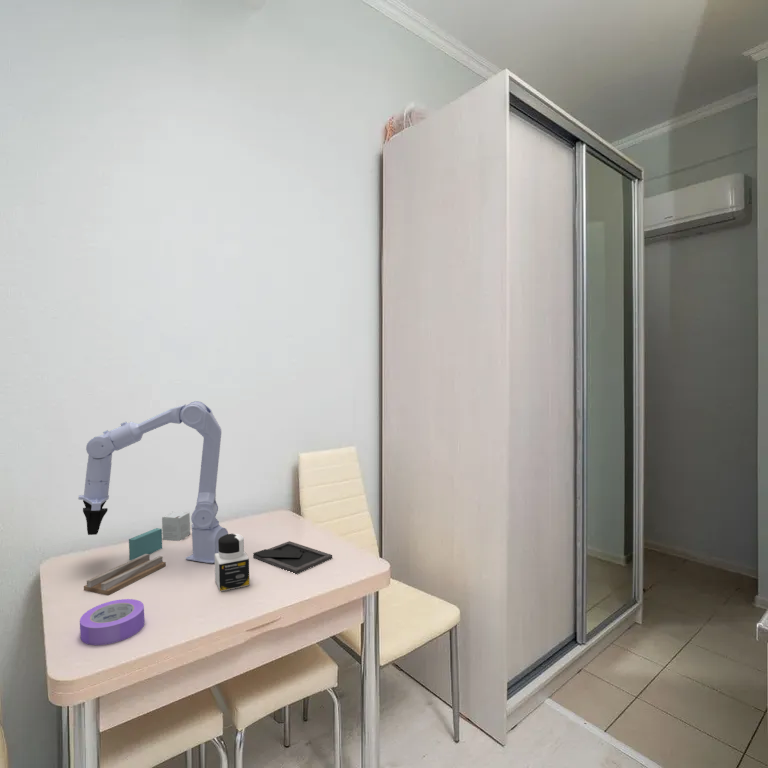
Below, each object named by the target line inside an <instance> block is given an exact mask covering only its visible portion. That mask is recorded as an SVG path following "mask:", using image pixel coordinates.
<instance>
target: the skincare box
mask: <svg viewBox="0 0 768 768" xmlns="http://www.w3.org/2000/svg"><path fill="white" fill-rule="evenodd" d="M190 517H191V516H190V512H189V511H188V512H185V511H171V512H169V513H168V514H166V515H164V516H162V518H161V526H162V528H161V529H162V541H177V542H179V541H182V540H183V539H185V538H186V537H188V536H189V535H191V525H190V524H191V521H190Z"/></svg>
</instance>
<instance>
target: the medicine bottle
mask: <svg viewBox="0 0 768 768" xmlns="http://www.w3.org/2000/svg"><path fill="white" fill-rule="evenodd" d="M218 547H219V553H216V554H215V563H214V580H215V584H216V585H217V589H218V590H219V592H220V591H222V592H226V591H230V589H231V590H235V588H236V589H240V587H241V588H244V587H249V586H250V558H249V556H248V554H247V553H246V552H245V537H244V536H243V535H242V534H239V533H228V534H227V535H224V536H222V537H220V539H219V540H218ZM225 590H226V591H225Z"/></svg>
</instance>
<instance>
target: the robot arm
mask: <svg viewBox="0 0 768 768" xmlns="http://www.w3.org/2000/svg"><path fill="white" fill-rule="evenodd" d="M170 423H171V424H178V425H179V424H182V423H183V424H184V425H186V426H188V427H190V428H192V429H194V430H195V431H196V432H197V433H198V434H200V435H201V437H203V443H202V452H201V453H202V454H201V460H200V461H201V462H200V463H201V464H200V473H199V483H198V493H197V497H196V505H195V508H194V510H193V512H192V513H191V514H192V515H191V516H190V517H191V522H192V525H191V536H192V537H191V539H192V540H191V541H192V543H191V544H192V545H191V546H192V554H191V555H187V556H186V557H185V560H187V561H188V560H189V561H195V562H200V563H205V564H215V554H216V553H219V547H218V540H219V539H220V537H222V536H224V535H227V534H229V532H228V530H227V528H225V527H224V526H223V527H222V526H221V525H220V521H219V520H218V519H217V517H216V516H217V514H218V511H219V506H218V503H217V501H216V499H217V498H216V497H217V481H218V473H219V472H218V471H219V461H220V450H221V438H222V428H221V426H220V424H219V422H218V421H217V418H216V417H215V415H214V413H213V411H212V409H211V408H210V407H208V406H207V404H206V403H204V402H202V401H196V400H195V401H191V402H189V403H188V404H186V403H185V404H182V405H178V406H174V407H172V408H169V409H167V410H165V411H163V412H161V413H159V414H156V415H154V416H153V417H150V418H149V419H146V420H143V421H141V422H140V423H137V422H134V421H130V422H127V421H124V422H122V423H120V426H118V427H116V428H114V429H111V430H108V429H107V430H105V431H103V432H102V433H103V434H99V435H97V436H94V437H93V438H91V439H90V440H89V441H87V443H86V446H85V447H86V449H85V450H86V453H87V454H88V458H87V463H86V471H85V483H84V492H83V494H81V495H78V498H77V499H78V500H81V501H82V503H83V504H84V507H82V513H83V516H84V517H85V521H86V531H87V535H88V536H92V535H93V536H94V535H95V536H96V535H98V533H99V530H100V529H101V528H100V526H101V525H102V521H103V519H104V516H105V515H106V514H107V512H108V510H109V509H108V508H107V507H106V508H105V507H104V505H105V504H106V502H107V501H108V500H109V497H110V495H109V491H110V490H109V489H110V482H111V481H110V480H111V473H112V463H113V462H112V459H113V453H114V452H115V451H119V450H122V449H124V448H125V449H126V448H127V447H129V446H131V445H133V444H136V443H139V442H140V441H142V438H143V435H144V434H146V433H148V432H149V433H150V432H151V431H153V430H157V429H158V428H161V427H163V426H165V425H168V424H170ZM103 507H104V508H103Z"/></svg>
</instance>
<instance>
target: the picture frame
mask: <svg viewBox="0 0 768 768" xmlns="http://www.w3.org/2000/svg"><path fill="white" fill-rule="evenodd" d="M252 554H253V555H252V558H253V559H254V560H258V561H259V562H261V563H265V564H267V565H270V566H273V567H276V568H278V569H280V568H281V570H283V569H284V570H283V571H286V570H287V571H286V572H288V571H290V572H289V573H291V572H293V573H295V574H294V575H296V574H297V573H299V572H301V573H303V572H305V571H307V570H306V569H308V568H310V567H312V568H314V567H316V566H315V565H317V564H319V563H321V564H323V563H325V562H324V561H326V562H327V560H328V561H330V560H331V558H332V559H333V555H332V554H331V553H327V552H324V551H320V550H319V549H315V548H311V547H308V546H305V545H302V544H299V543H297V542H293V541H290V540H288V541H286V542H283V543H281V544H278V545H275V546H273V547H270V548H267V549H262V550H258V551H255V552H253V553H252ZM329 559H330V560H329ZM322 562H323V563H322ZM319 565H320V564H319ZM313 566H314V567H313ZM317 566H318V565H317ZM310 569H311V568H310ZM304 570H305V571H304ZM308 570H309V569H308ZM302 571H303V572H302ZM293 573H292V574H293ZM299 574H300V573H299ZM297 575H298V574H297Z"/></svg>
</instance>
